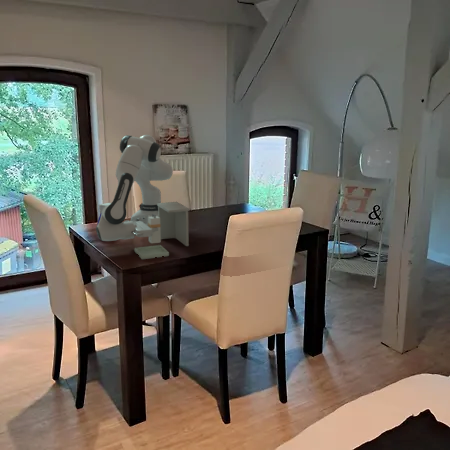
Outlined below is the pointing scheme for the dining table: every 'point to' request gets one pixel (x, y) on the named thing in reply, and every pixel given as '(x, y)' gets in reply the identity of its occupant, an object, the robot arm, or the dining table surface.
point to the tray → (151, 252)
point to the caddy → (153, 222)
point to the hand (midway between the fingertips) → (155, 227)
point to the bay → (174, 221)
